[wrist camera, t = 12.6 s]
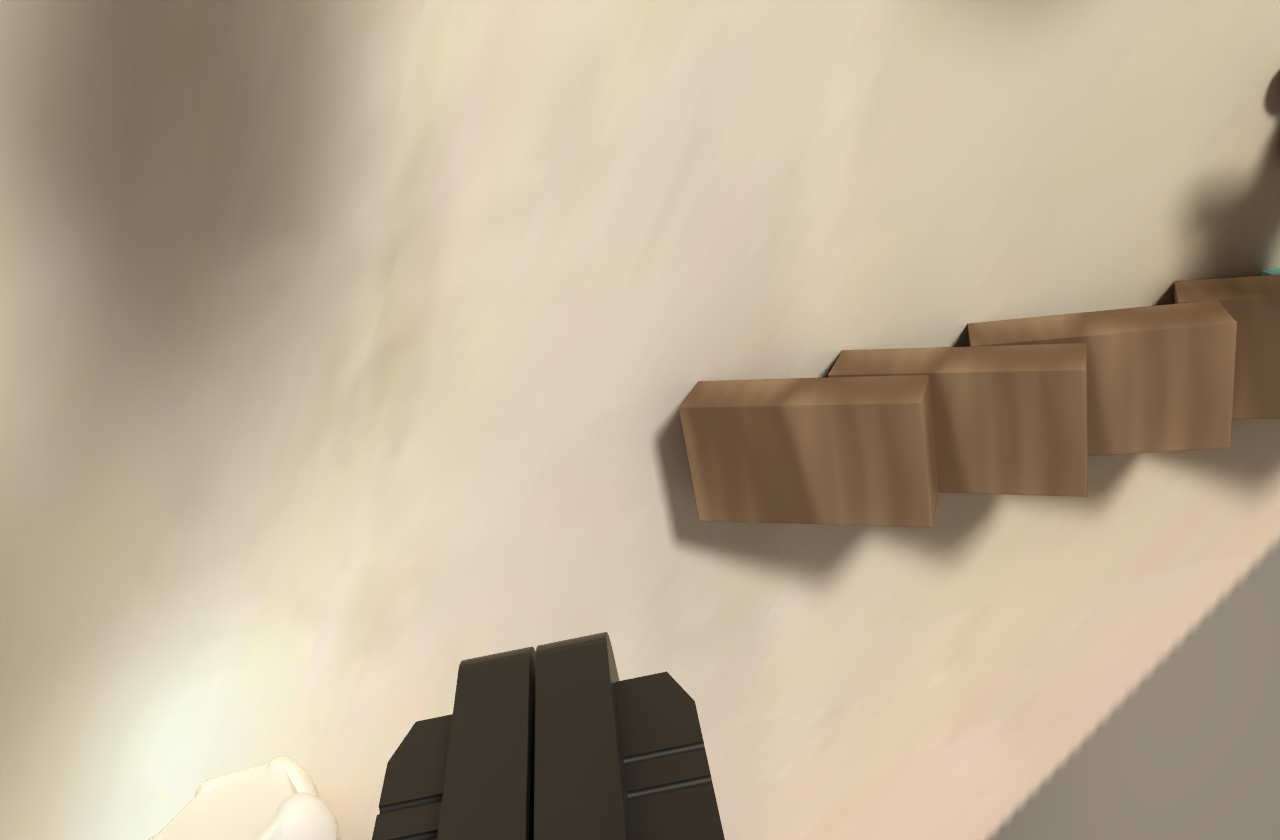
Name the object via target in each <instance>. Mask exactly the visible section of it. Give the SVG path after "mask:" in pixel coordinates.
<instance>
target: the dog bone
mask: <svg viewBox="0 0 1280 840" xmlns="http://www.w3.org/2000/svg"><path fill="white" fill-rule="evenodd" d="M336 839H337V825H336V821H335V818H334V816H333V814H332V812H331V810H330V808H329V807H328V806H327V805H326V804H325V803H324V801H323V800H321V799H320V798H318V794H317V790H316V787H315V785H314V782H313V780H312V779H311V777H310V775H309V774H308V772H307V771H306V770H305V769H304V767H303V766H302V765H300V764H299V763H298V762H297V761H296V760H294V759H292V758H290V757H285V756H280V757H276V758H274V759H273V760H271V761H270V762H269V763H267V764H263V765H260V766H256V767H253V768H250V769H246V770H243V771H239V772H236V773H232V774H229V775H226V776H222V777H216V778H212V779H209V780H207V781H206V782H204V783H203V784H202V785H201V786H200V787H199V788H198V790H197V792H196V794H195V798H194V799H193V800H192V801H191V802H190V803H189V804H188V805H187V806H186V807H185V808H184V809H183V810H182V811H181V812H179V813H178V814H177V815H176V816H175V817H174V818H173V819H172V820H171V821H170V822H169V823H168V824H167V825H166V826H165V827H164V828H163V829H162V830H161V831H160V832H159V833H158V834H157V835H155V836H154V837H152V838H150V839H149V840H336Z"/></svg>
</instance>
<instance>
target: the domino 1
mask: <svg viewBox="0 0 1280 840" xmlns="http://www.w3.org/2000/svg"><path fill="white" fill-rule="evenodd" d="M679 413H680V419H681V424H682V429H683V435H684V440H685V445H686V451H687V456H688V461H689V467H690V472H691V477H692V483H693V488H694V494H695V499H696V504H697V510H698V515H699V520H700V521H731V522H766V523H801V524H835V525H870V526H905V527H931V525H932V521H933V516H934V512H935V507H936V503H937V498H938V481H937V468H936V455H935V442H934V429H933V416H932V403H931V390H930V377H929V374H928V375H895V376H862V377H829V378H796V379H763V380H730V381H699V382H698V383H697V384H696V385H695V387H694V388H693V389H692V391H691V392H690V393H689V395H688V396H687V397H686V399H685V400H684V401H683V403H682V404H681V405H680V406H679Z"/></svg>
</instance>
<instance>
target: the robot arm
mask: <svg viewBox="0 0 1280 840" xmlns="http://www.w3.org/2000/svg"><path fill="white" fill-rule="evenodd" d="M379 809H380V814H379V815H377V817H376V822H375V827H374V832H373V837H372V840H725V839H724V834H723V830H722V825H721V820H720V816H719V811H718V807H717V802H716V797H715V793H714V788H713V784H712V779H711V774H710V770H709V765H708V760H707V756H706V751H705V747H704V742H703V737H702V733H701V728H700V724H699V719H698V714H697V710H696V705H695V701H694V700H693V699H692V698H691V697H690V696H689V695H688V694H687V693H686V692H685V691H684V689H683V688H682V687H681V686H680V685H679V684H678V683H677V682H676V681H675V680H674V679H673V678H672V677H671V676H670V675H669V674H668V673H667V672H663V673H658V674H653V675H648V676H643V677H638V678H633V679H628V680H623V681H619V677H618V673H617V668H616V664H615V659H614V655H613V651H612V646H611V642H610V639H609V635H608V633H607V632H604V633H599V634H594V635H589V636H584V637H579V638H574V639H569V640H564V641H559V642H554V643H549V644H544V645H539V646H537V649H536V651H535V649H534V648H533V647H528V648H523V649H518V650H513V651H508V652H503V653H498V654H493V655H488V656H483V657H478V658H473V659H468V660H463V661H461V663H460V666H459V671H458V679H457V686H456V694H455V702H454V710H453V714H452V715H447V716H442V717H437V718H432V719H427V720H422V721H417V722H416V723H415V724H414V725H413V727H412V728H411V730H410V731H409V733H408V734H407V736H406V737H405V738H404V740H403V741H402V743H401V744H400V746H399V747H398V749H397V750H396V751H395V753H394V754H393V756H392V757H391V759H390V760H389V762H388V764H387V769H386V774H385V778H384V783H383V788H382V793H381V798H380V803H379Z"/></svg>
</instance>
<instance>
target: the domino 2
mask: <svg viewBox="0 0 1280 840" xmlns="http://www.w3.org/2000/svg"><path fill="white" fill-rule="evenodd" d="M928 374H929V377H930V390H931V403H932V416H933V429H934V442H935V455H936V468H937V481H938V492H947V493H981V494H1015V495H1049V496H1084V497H1087V477H1088V417H1087V343H1075V344H1041V345H1008V346H975V347H942V348H908V349H875V350H842V352H841V353H840V355H839V357H838V358H837V360H836V362H835V364H834V365H833V367H832V369H831V371H830V372H829V374H828V378H829V377H862V376H895V375H928Z"/></svg>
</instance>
